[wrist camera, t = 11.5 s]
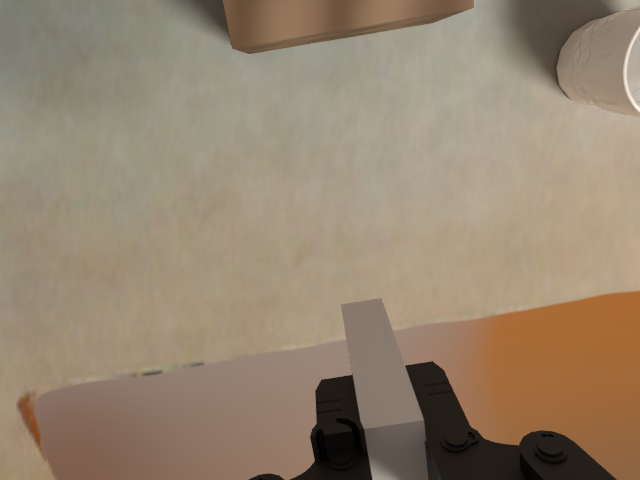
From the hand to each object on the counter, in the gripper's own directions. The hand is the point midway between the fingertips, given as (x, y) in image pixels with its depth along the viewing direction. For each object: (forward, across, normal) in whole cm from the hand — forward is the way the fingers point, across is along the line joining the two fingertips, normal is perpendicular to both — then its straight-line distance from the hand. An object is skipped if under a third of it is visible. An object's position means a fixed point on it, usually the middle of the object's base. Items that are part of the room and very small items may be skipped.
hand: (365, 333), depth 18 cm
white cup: (+27, +24, +6) cm, 36 cm away
